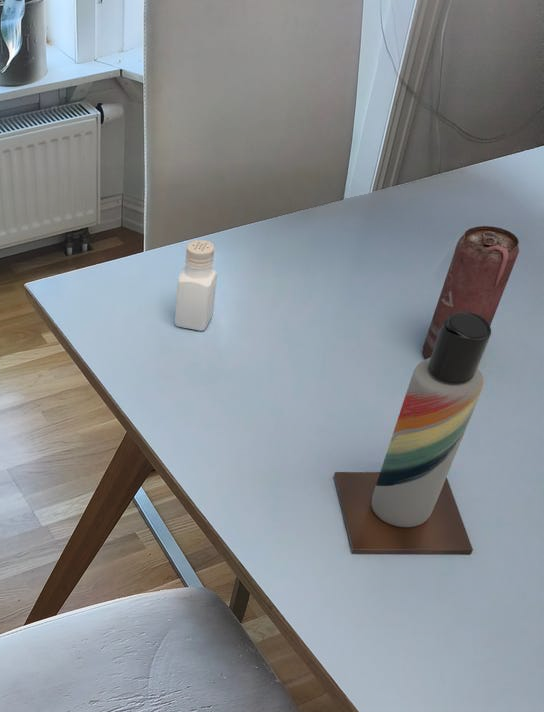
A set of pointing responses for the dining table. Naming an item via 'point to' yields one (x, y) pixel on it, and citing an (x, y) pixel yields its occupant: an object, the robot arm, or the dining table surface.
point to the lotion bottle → (432, 422)
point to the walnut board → (382, 538)
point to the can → (475, 277)
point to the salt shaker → (196, 287)
